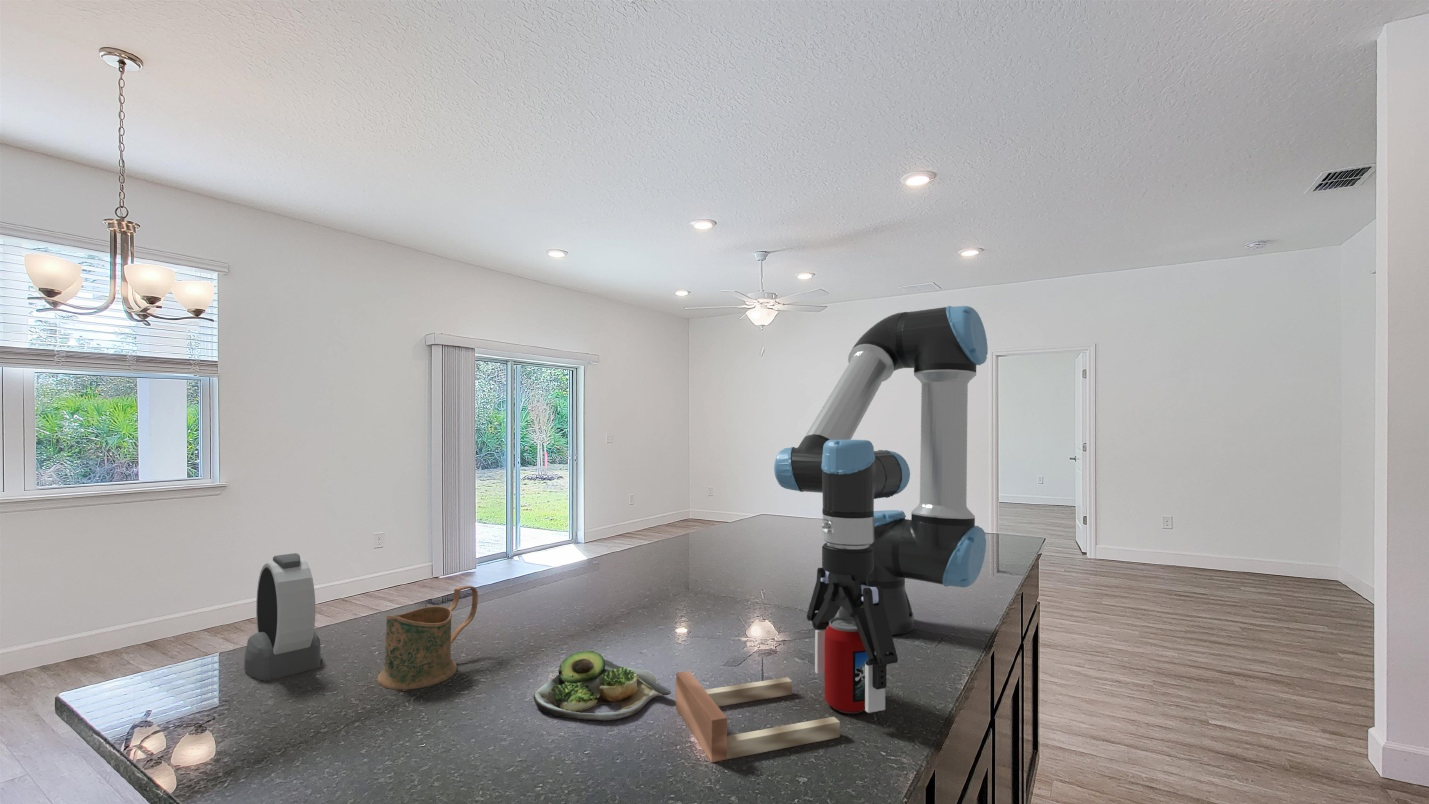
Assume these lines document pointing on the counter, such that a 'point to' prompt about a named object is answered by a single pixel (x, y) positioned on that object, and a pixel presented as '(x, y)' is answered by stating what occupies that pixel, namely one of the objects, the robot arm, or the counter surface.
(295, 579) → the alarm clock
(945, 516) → the robot arm
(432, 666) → the mug
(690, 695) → the guide channel
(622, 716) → the avocado toast plate
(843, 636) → the beverage can
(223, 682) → the counter surface
